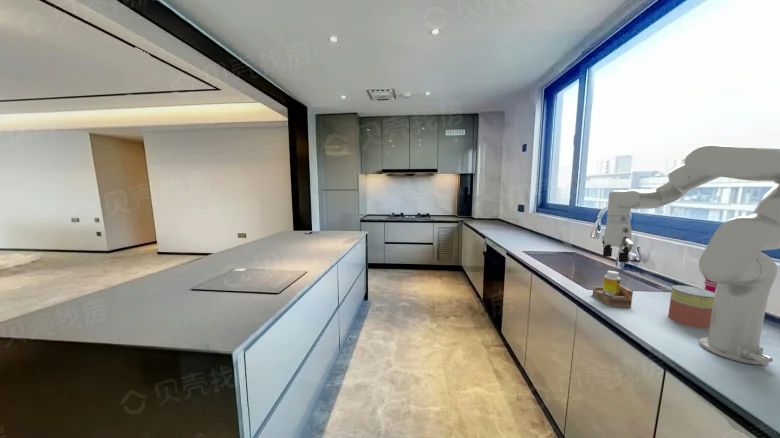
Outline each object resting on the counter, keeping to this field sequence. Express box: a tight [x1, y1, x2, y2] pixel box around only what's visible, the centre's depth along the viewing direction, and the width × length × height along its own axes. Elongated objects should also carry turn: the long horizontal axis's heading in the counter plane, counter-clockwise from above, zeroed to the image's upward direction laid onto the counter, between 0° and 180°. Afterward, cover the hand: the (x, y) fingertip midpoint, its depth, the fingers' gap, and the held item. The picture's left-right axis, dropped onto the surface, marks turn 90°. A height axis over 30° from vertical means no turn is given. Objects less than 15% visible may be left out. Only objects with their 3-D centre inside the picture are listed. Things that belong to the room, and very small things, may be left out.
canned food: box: [667, 284, 715, 330], centre depth 101 cm, size 11×11×12 cm
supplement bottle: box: [602, 270, 621, 296], centre depth 118 cm, size 6×6×10 cm
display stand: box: [592, 284, 634, 308], centre depth 119 cm, size 12×8×7 cm, turn 173°
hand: (614, 259), depth 117 cm, fingers open, 9 cm apart
